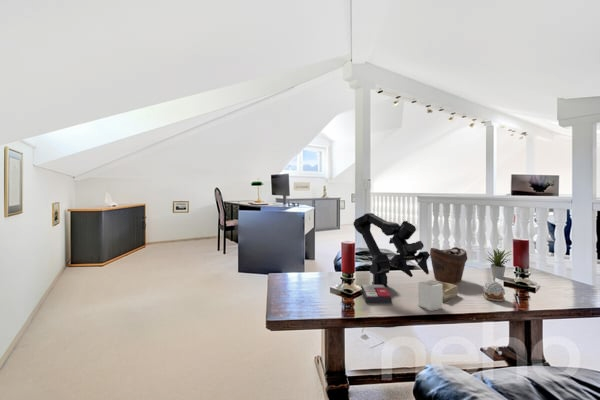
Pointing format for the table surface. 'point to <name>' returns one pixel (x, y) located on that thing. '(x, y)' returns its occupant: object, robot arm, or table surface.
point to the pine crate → (447, 290)
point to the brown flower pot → (448, 264)
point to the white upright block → (430, 295)
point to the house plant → (498, 263)
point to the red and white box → (376, 294)
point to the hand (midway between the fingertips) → (420, 275)
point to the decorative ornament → (494, 289)
